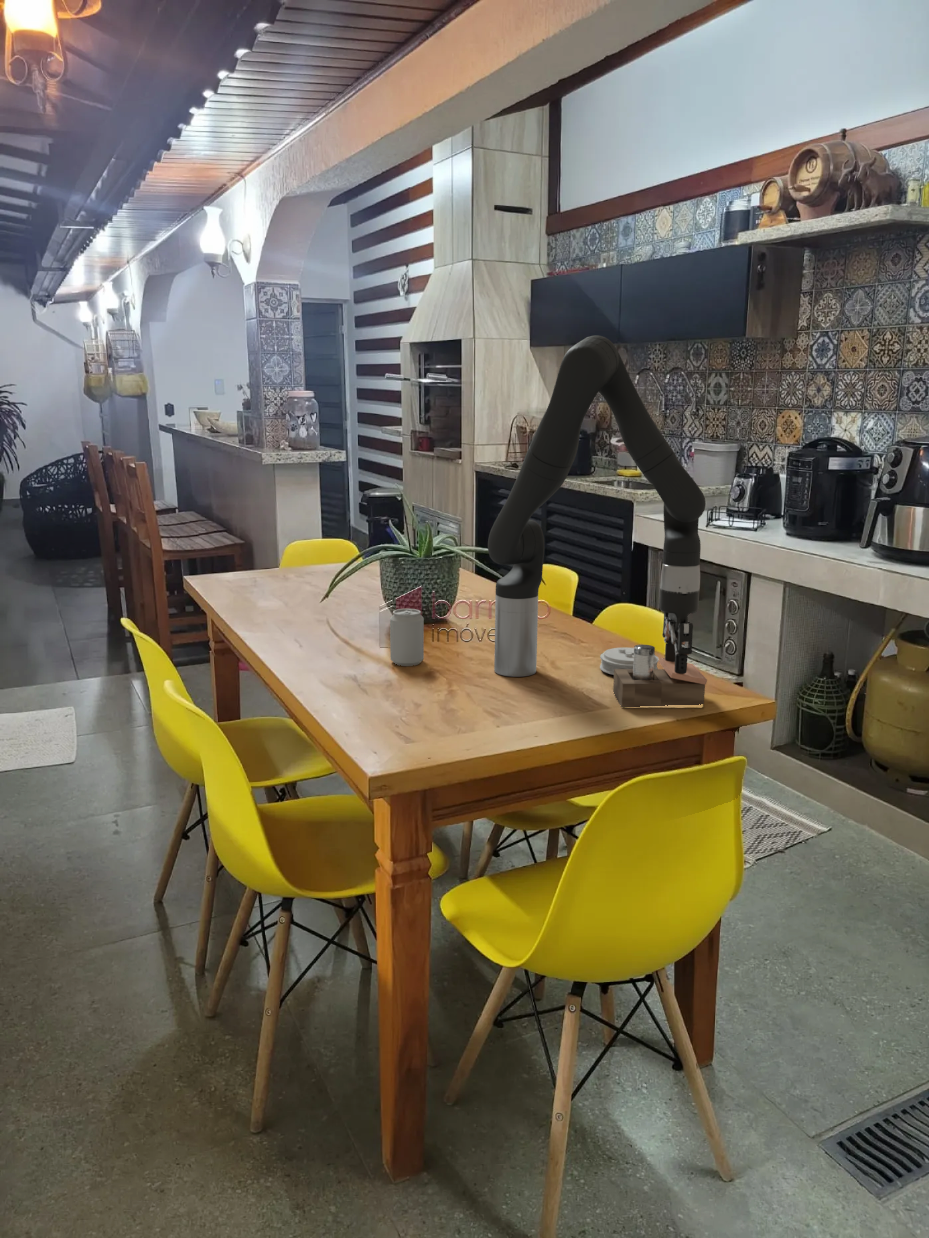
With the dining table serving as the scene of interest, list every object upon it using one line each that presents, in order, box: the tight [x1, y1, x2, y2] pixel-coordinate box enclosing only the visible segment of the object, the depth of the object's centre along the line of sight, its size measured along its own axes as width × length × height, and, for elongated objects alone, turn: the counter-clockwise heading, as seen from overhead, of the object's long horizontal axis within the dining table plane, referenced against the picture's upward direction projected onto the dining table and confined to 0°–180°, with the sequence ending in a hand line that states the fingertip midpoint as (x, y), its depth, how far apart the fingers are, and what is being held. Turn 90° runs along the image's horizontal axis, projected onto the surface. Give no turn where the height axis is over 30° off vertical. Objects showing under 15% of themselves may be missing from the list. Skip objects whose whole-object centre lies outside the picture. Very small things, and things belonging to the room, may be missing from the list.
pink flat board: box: [658, 657, 708, 686], centre depth 191 cm, size 11×7×1 cm, turn 1°
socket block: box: [612, 668, 706, 708], centre depth 191 cm, size 10×16×5 cm, turn 91°
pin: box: [633, 644, 656, 680], centre depth 191 cm, size 4×4×11 cm
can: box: [389, 608, 425, 667], centre depth 216 cm, size 8×8×12 cm
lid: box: [599, 647, 660, 676], centre depth 211 cm, size 13×13×5 cm
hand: (675, 667), depth 190 cm, fingers open, 8 cm apart
